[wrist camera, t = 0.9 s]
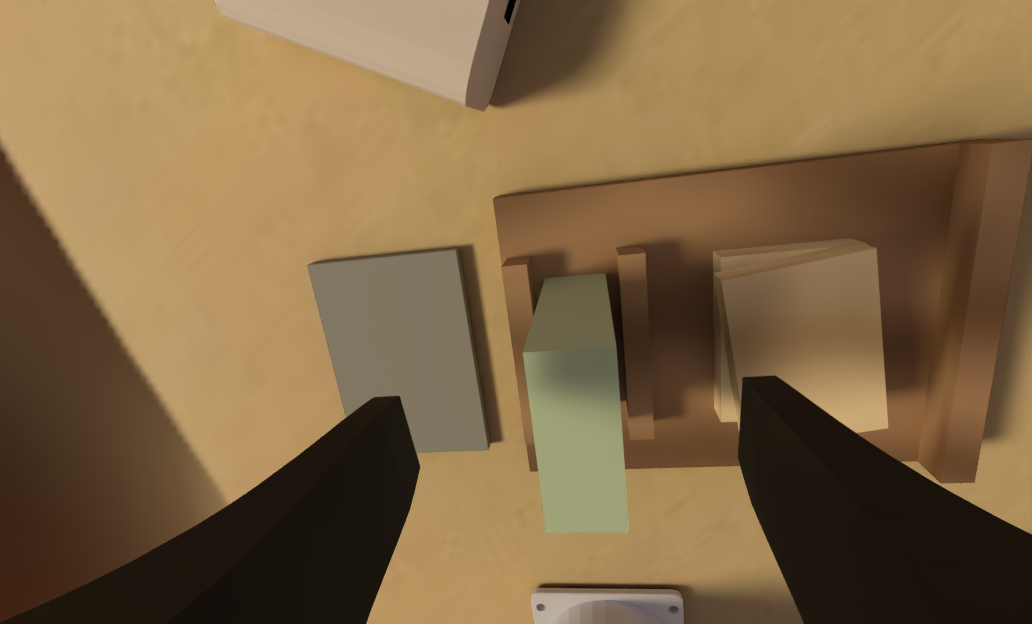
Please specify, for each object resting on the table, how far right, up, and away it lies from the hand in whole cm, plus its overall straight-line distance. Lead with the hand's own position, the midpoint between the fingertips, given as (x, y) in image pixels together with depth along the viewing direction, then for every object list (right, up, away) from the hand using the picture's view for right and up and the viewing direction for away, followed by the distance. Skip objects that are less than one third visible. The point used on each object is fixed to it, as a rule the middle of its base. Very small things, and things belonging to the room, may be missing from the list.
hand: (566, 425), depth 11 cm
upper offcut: (+10, +1, +9) cm, 13 cm away
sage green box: (+2, +1, +11) cm, 11 cm away
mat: (-6, 0, +14) cm, 15 cm away
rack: (+8, +2, +11) cm, 14 cm away
